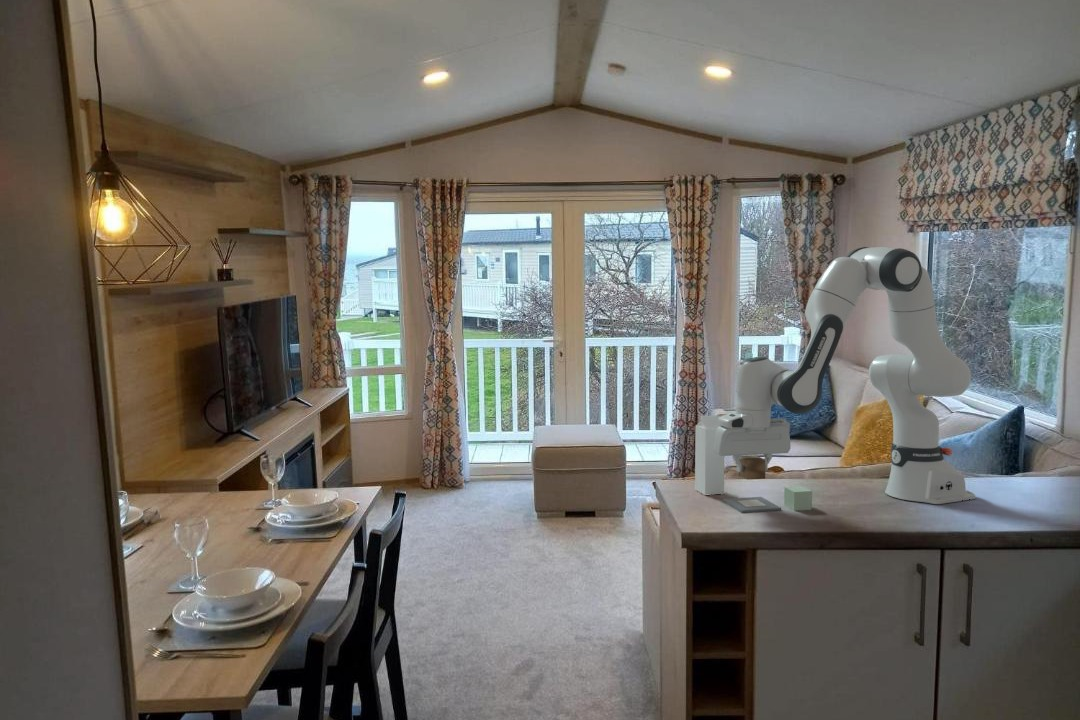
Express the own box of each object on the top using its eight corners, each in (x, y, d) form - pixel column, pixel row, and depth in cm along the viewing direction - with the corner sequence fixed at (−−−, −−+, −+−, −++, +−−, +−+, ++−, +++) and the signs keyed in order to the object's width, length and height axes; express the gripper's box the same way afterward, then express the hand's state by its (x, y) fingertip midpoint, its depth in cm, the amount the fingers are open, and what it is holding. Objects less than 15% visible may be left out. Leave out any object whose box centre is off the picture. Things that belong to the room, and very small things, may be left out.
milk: (724, 494, 203) (725, 416, 201) (704, 496, 201) (706, 417, 199) (713, 489, 209) (714, 413, 207) (694, 490, 207) (695, 414, 205)
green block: (801, 504, 192) (801, 486, 192) (811, 509, 187) (812, 491, 187) (784, 505, 191) (784, 487, 191) (794, 511, 187) (794, 492, 186)
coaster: (761, 498, 198) (761, 496, 198) (781, 510, 187) (781, 507, 187) (723, 501, 196) (723, 498, 196) (741, 512, 185) (741, 510, 185)
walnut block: (756, 474, 193) (756, 455, 193) (765, 478, 189) (765, 459, 188) (738, 475, 193) (739, 456, 192) (747, 479, 188) (747, 460, 187)
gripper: (783, 415, 194) (782, 466, 195) (711, 418, 191) (711, 470, 192) (795, 419, 188) (794, 471, 189) (722, 422, 184) (721, 475, 186)
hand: (752, 471), depth 190 cm, fingers closed on walnut block, 5 cm apart
